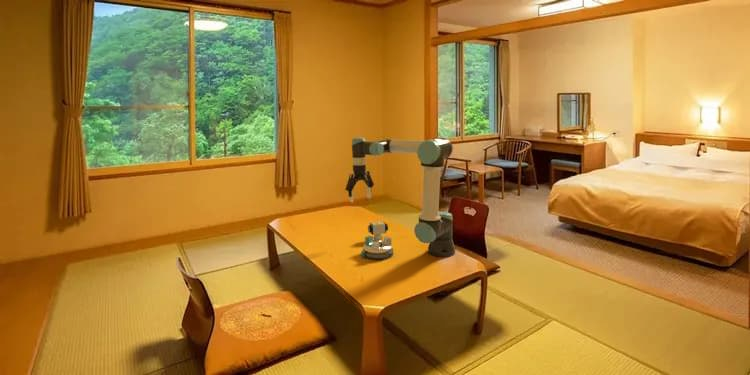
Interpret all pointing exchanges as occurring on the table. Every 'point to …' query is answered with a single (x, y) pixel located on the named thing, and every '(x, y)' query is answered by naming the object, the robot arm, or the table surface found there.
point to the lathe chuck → (377, 245)
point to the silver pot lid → (376, 255)
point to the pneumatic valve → (378, 229)
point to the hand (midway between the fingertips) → (360, 200)
